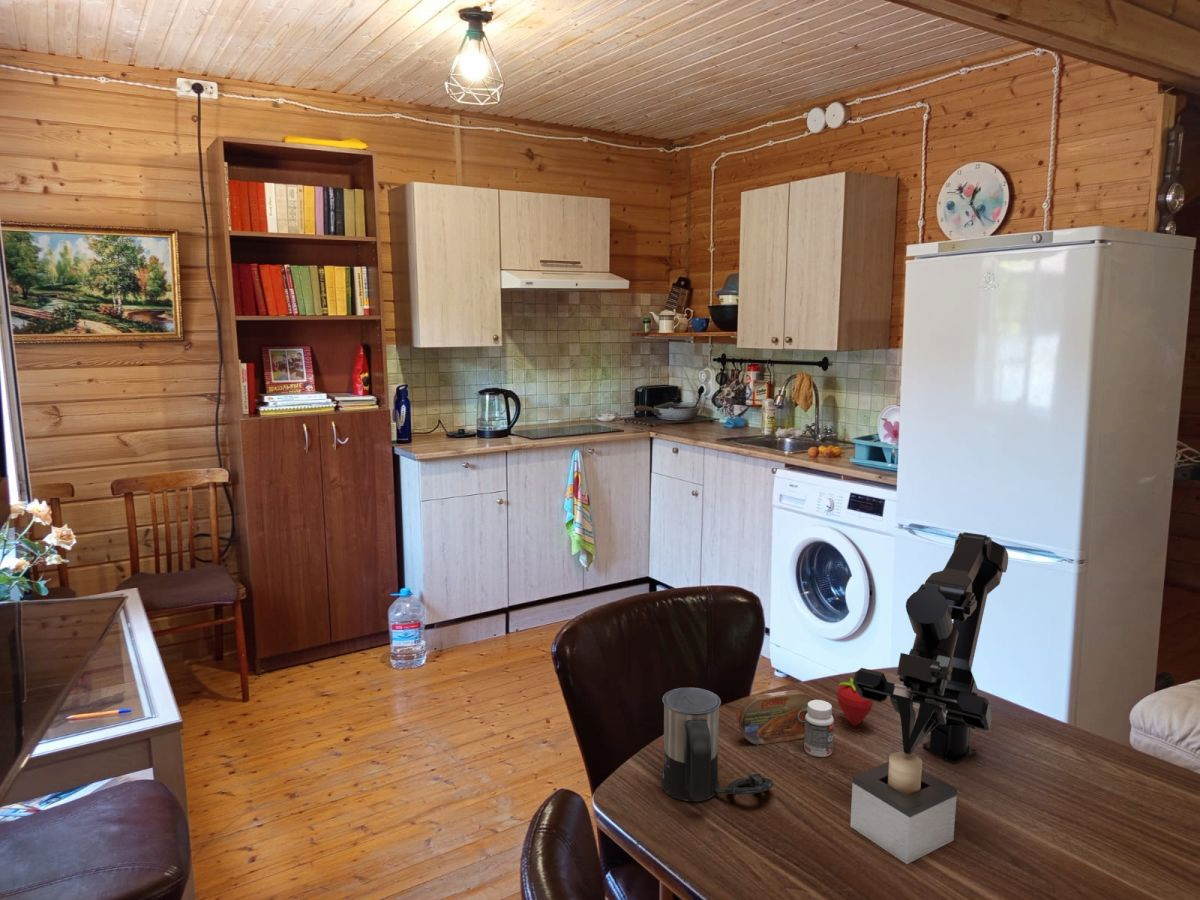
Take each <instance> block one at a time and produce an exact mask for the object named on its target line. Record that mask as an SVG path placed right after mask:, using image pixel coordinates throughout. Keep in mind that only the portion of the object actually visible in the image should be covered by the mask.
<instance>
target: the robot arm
mask: <svg viewBox="0 0 1200 900" xmlns="http://www.w3.org/2000/svg"><path fill="white" fill-rule="evenodd" d="M1008 565H1009V553H1008V551H1007V549H1006V547H1005V546H1004V545H1001V544H1000V543H999V542H998V543H997V542H996V541H994V540H992V537H990V536H988V535H985V534H980V533H979V534H978V533H974V532H973V533H972V532H966V531H964V532H959V534H958V536H957V538H956V539H955V541H954V546H953V552H952V553H951V555H950V557H949V558H948V561H947V563H946V564H945V566H944V568H942V569H943V570H939V571H935V572H932V573H931V574H930V575H929V577H927V578H926V580H925V581H924V583H922V584H921V585H920V586H919V588H918V589H917V590H916V591H914V592H913V593H912V594H910V595H909V597H908V598H907V599H906V601H905V611H906V614H907V616H908V619H909V622H910V626H911V628H912V631H913V632H914V634H915V637H914V641H913V645H912V648H910V651H909V653H903V652H900V656H899V658H898V659H899V660H898V665H897V672H896V675H897V676H899V677H898V679H899V682H902V684H898V683H894V682H889V681H888V680H887V678H886V675H885V673H884V672H881V671H877V670H872V669H869V668H864V667H861V668H859V669H858V670H856V671H855V673H854V675H853V676H854V677H853V684H854V686H855V688H856V690H857V692H858V694H859V696H860V697H862V698H865V699H868V700H872V701H873V702H876V703H882V702H883V701H884V702H885V701H886V700H887V698H888V697H889V699H890V702H891V704H892V706H893V710H894V711H895V712H896V713H898V714H899V717H900V723H901V724H900V725H901V735H902V748H903V752H904V753H905V754H909V755H910V754H913V753H914V751H915V749H916V748H917V747H918V746H919V745H920V743H922V742H923V740H924V739H925V737H927V736H928V735H930V736H929V740H928V741H927V742H925V743H923V744H922V748H923V749H925V750H926V751H928V752H931V753H932V754H935V755H937V756H938V757H940V758H942V759H943V760H945V761H948V762H950V763H952V764H957V763H960V762H961V761H963V760H965V759H968V758H971V757H972V756H974V755H977V754H978V750H977V749H976V748H973V747H971V746H970V739H971V738H970V736H971V729H973V730H976V729H979V730H983V731H990V728H991V723H992V717H993V713H992V708H991V704H990V702H989V700H988V699H987V698H986V697H983V696H980V694H979V693H978V690H979V689H978V686H977V682H976V680H975V676H974V675H973V671H972V667H973V665H974V664H973V663H974V658H975V653H976V651H977V646H978V641H979V640H978V639H979V636H980V632H981V631H980V630H981V626H982V621H983V617H984V612H985V607H986V602H987V598H988V595H989V594H990V593H991V592H992V591H994V590H995V589H997V587H998V586H999V585H1000V584H1001V581H1002V577H1003V573H1006V572H1007V570H1008ZM915 704H919V707H918V713H917V714H916V711H915V708H914V706H915Z"/></svg>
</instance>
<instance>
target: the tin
mask: <svg viewBox="0 0 1200 900" xmlns="http://www.w3.org/2000/svg"><path fill="white" fill-rule="evenodd" d="M812 700H815V699H814V697H812V696H810V695H809V694H807V693H806V692H804V691H802V690H799V689H790V690H781V691H775V692H768V693H759V694H754V695H751V696H749V697H747V698H746V699H745V700H744V701H743V702H742V703H741V704H740V705H739V708H738V710H737V714H736V723H737V724H736V725H737V728H738V729H739V731H740V733H741V734H742V735H743V736H744V738H745V740H747V741H748V742H749V743H751V744H753V745H759V744H763V745H769V743H770V744H775V743H782V742H788V741H796V740H802V739H805V716H806V714H807V713H808V711H807V708H808V703H809V702H810V701H812Z"/></svg>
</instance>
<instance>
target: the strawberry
mask: <svg viewBox="0 0 1200 900" xmlns="http://www.w3.org/2000/svg"><path fill="white" fill-rule="evenodd" d="M850 675H851V677H849V681H848V682H845V681H841V682H839V683H838V685H839V686H838V688H837V691H836V698H837V702H838V705H839V708H840V709H841V711H842V712H843V715H844V716H845V717H846V719H847V720H848V721H849V723H850V724H851V725H852V726H854V727H855V726H858V725H859V724H860V723H861V722H862V721H863V720H865V719H866V717H867V716H868V714H869V713H870V712H871V711H872V707H873V705H874V701H872V700H868V699H865V698H862V697H860V696H859V694H858V692H857V690H856V688H855V686H854V684H853V680H854V676H855V675H853V674H852V673H850ZM852 677H853V678H852Z"/></svg>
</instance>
